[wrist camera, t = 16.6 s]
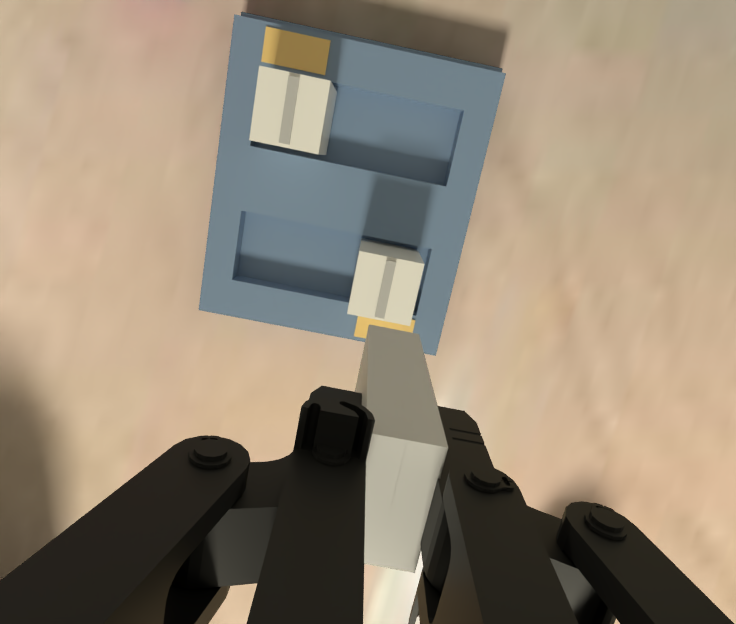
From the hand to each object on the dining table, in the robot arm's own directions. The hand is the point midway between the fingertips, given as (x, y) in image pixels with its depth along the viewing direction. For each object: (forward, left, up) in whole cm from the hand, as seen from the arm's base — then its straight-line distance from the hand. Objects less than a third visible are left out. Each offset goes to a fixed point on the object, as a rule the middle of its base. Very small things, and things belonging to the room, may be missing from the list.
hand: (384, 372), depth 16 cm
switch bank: (-3, +3, -24) cm, 25 cm away
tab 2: (+1, -2, -23) cm, 23 cm away
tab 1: (-7, +7, -23) cm, 25 cm away
